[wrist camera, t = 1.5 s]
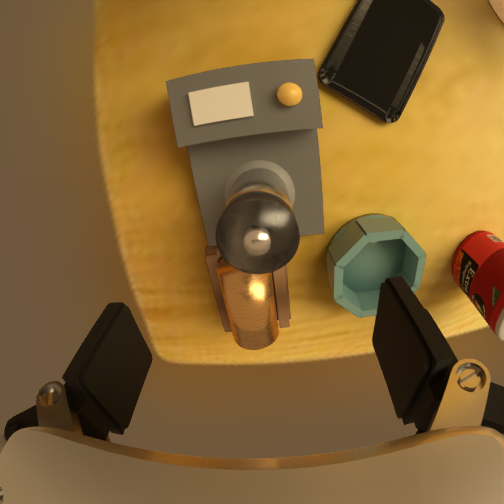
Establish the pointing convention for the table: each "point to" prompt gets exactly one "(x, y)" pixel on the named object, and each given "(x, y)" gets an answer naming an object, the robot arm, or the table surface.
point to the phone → (382, 54)
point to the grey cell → (258, 224)
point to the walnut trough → (278, 285)
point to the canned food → (483, 276)
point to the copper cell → (249, 306)
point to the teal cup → (371, 261)
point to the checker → (252, 134)
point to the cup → (498, 8)
